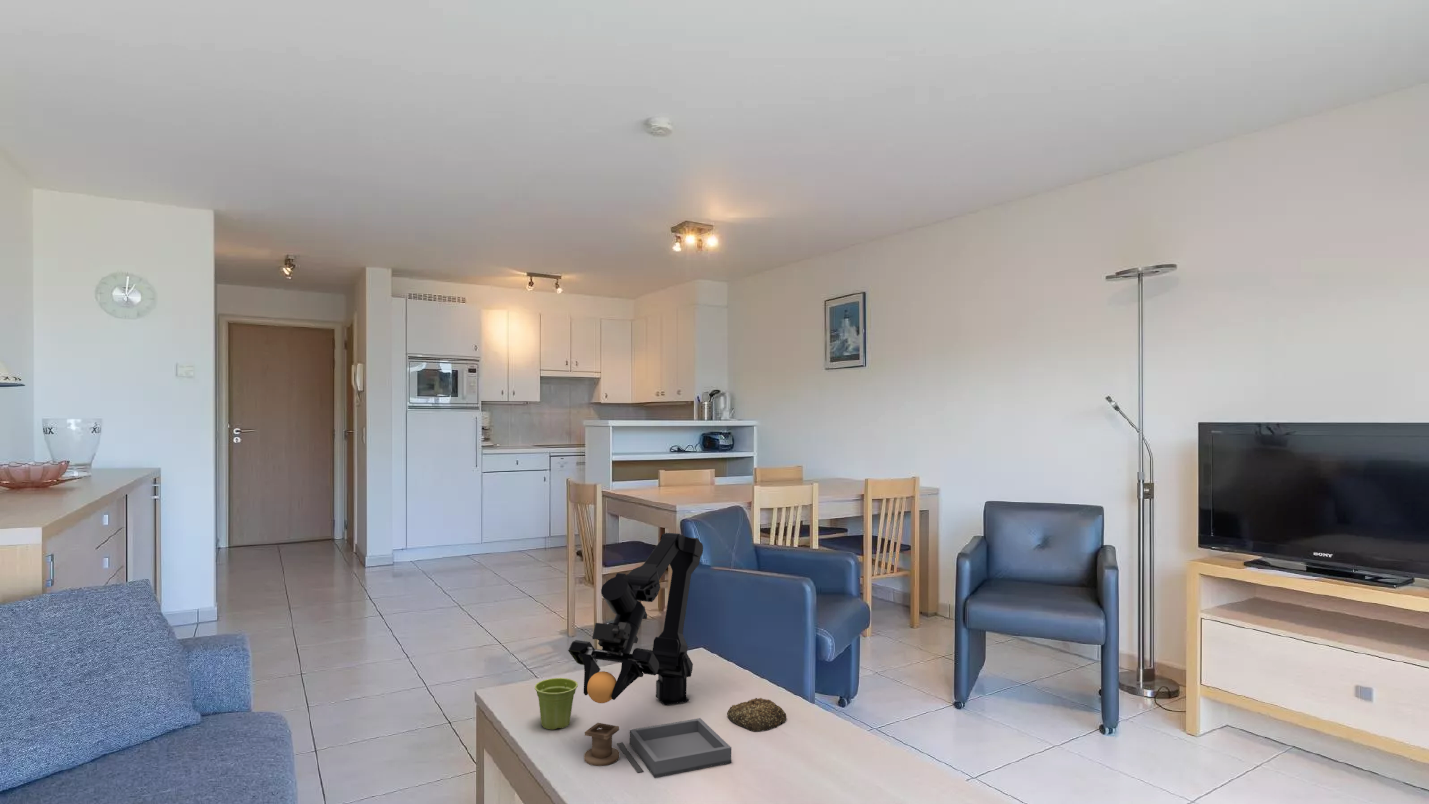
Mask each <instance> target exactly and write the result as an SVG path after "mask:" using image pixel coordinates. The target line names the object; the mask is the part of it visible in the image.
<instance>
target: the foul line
mask: <svg viewBox="0 0 1429 804" xmlns="http://www.w3.org/2000/svg"><path fill="white" fill-rule="evenodd" d="M616 745H617V746H618V749H619V750H620V751H621V752H622V753H623V755H624V756H625V757H626V760H628V762H629V763H630V764H631V766H632V767H633V769H634V770H635V772H636V773H637V774H642V773H644V770H643V768H642V766H641V765H640V764H639V763H638V761H637V760H636V759H635V757H634V756H633V755H632V753H631V752H630V751H629V749H628V747H627V746H626V745H625V744H624V742H623V741H622V742H617V743H616Z"/></svg>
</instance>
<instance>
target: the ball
mask: <svg viewBox="0 0 1429 804" xmlns="http://www.w3.org/2000/svg"><path fill="white" fill-rule="evenodd" d="M616 681H617V679H616V677H615V676H614V675H613V674H612V673H611V672H609V671H605V670H604V671H601V670H600V671H599V672H597V673H595V674H594V675H593V676H592V677H591V678H590V679H589V681H588V685H587V691H588V695H587V696H588V697H589V698H590V700H591V701H593V702H595V703H598V704H605V703H608V702H610V701H612V700H613V699H612V698H611V696H612V692H613V689H614V686H615V684H616Z"/></svg>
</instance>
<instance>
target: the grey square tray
mask: <svg viewBox="0 0 1429 804" xmlns="http://www.w3.org/2000/svg"><path fill="white" fill-rule="evenodd" d="M628 741H629V746H631V749H633V751H634V752H635V753H636V754H637V756H638V757H639V760H641V761H642V764H644V765H645V767H646V768H647V770H648V771H649V772H650V773H651V775H652V776H653V778H654V779H656V778H661V777H665V776H670V775H676V774H680V773H686V772H691V771H696V770H701V769H706V768H712V767H718V766H723V765H728V764H732V746H731V745H729V744H728V743H727V742H726V741H725V740H724V739H723V738H722V737H721V736H720V735H719V734H718V733H717V732H716V731H715V730H714V729H712V727H710V726H709V725H708V723H706V722H705V720H704V719H702V718H701V717H697V718H692V719H686V720H680V721H679V720H678V721H674V722H667V723H662V724H661V723H660V724H655V725H650V726H644V727H638V728H631V729H629V740H628Z"/></svg>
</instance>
